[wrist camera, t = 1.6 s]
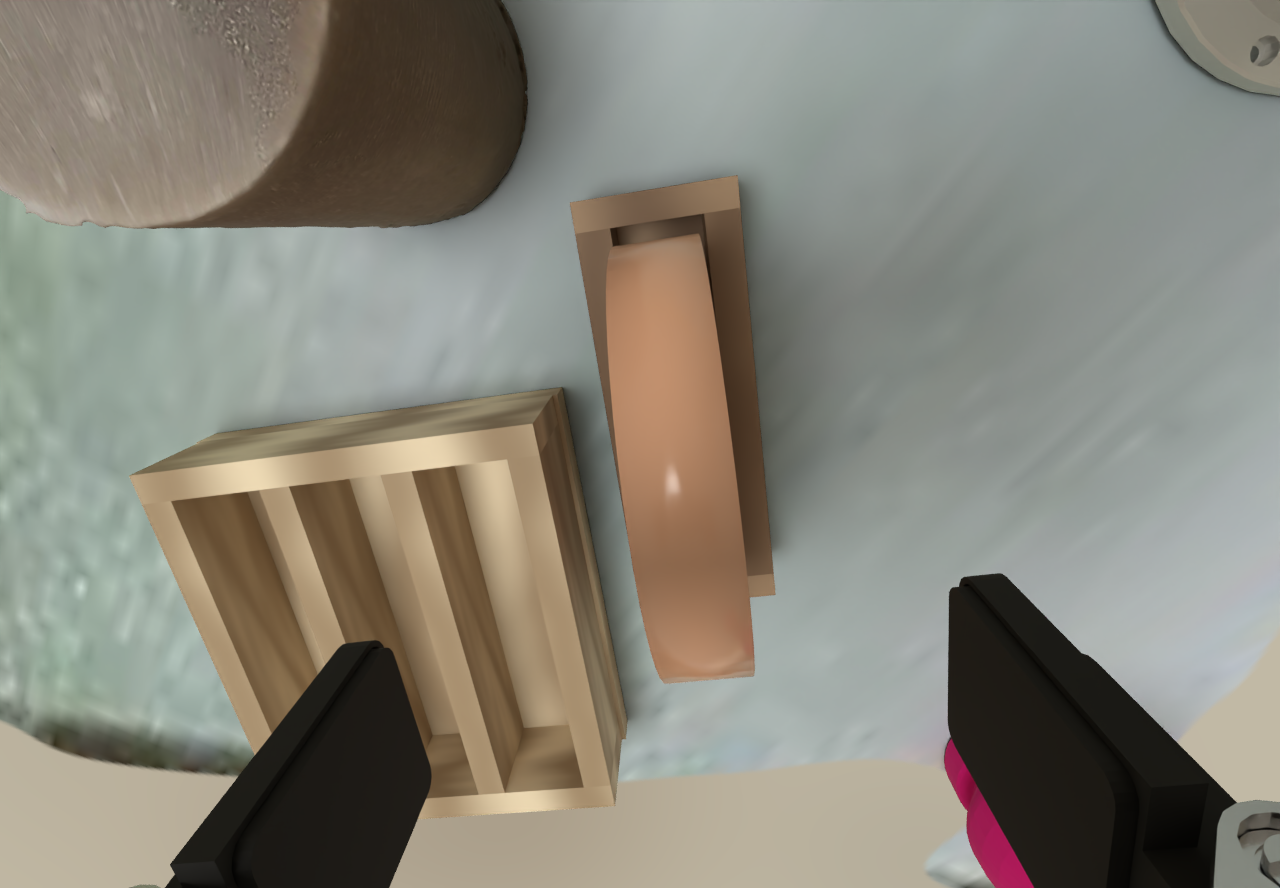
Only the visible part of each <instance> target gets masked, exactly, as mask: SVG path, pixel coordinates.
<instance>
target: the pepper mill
mask: <svg viewBox="0 0 1280 888" xmlns="http://www.w3.org/2000/svg"><path fill="white" fill-rule="evenodd" d="M944 763H945V769H946V772H947V775H948V778H949V780H950V782H951V783H952V786H953V788H954V790H955V791H956V794H957V796H958V798H959V800H960V802H961V803H962V804H963V806H964V807H965V809H966V810H967V811H968V812H967V835H968V839H969V842H970V846H971V848H972V850H973V853H974V855H975V856H976V858H977V860H978V862H979V863H980V865H981V867H982V869H983V870H984V872H985V874H986V875H987V877H988V878H989V880H990V881H991V882H992V884H993V885H994V886H995V887H996V888H1034V887H1033V885H1032V883H1031V881H1030V879H1029V878H1028V876H1027V874H1026V872H1025V871H1024V869H1023V867H1022V865H1021V863H1020V862H1019V860H1018V858H1017V856H1016V854H1015V853H1014V851H1013V849H1012V847H1011V846H1010V844H1009V842H1008V840H1007V838H1006V837H1005V835H1004V833H1003V831H1002V830H1001V828H1000V826H999V824H998V822H997V821H996V819H995V817H994V815H993V814H992V812H991V810H990V808H989V806H988V805H987V803H986V801H985V799H984V797H983V796H982V794H981V792H980V790H979V789H978V787H977V785H976V783H975V781H974V780H973V778H972V776H971V774H970V773H969V771H968V769H967V767H966V765H965V764H964V762H963V760H962V758H961V757H960V755H959V753H958V751H957V749H956V748H955V746H954V743H953V741H952V738H951V740H950V741H949V743H948V745H947V748H946V752H945V759H944Z"/></svg>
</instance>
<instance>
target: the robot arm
mask: <svg viewBox="0 0 1280 888" xmlns="http://www.w3.org/2000/svg"><path fill="white" fill-rule="evenodd" d="M1155 2H1156V4H1157V6H1158V8H1159V10H1160V12H1161V14H1162V17H1163V19H1164V21H1165V23H1166V25H1167V27H1168V29H1169V31H1170V33H1171V35H1172V36H1173V37H1174V38H1175V40H1176V41H1177V42H1178V43H1179V45H1180V46H1181V47H1182V48H1183V49H1184V51H1185V52H1186V53H1187V54H1188V56H1189V57H1190V58H1191V59H1192V60H1193V61H1194V62H1196V63H1197V64H1198V65H1200V66H1201V67H1202V68H1204V69H1205V70H1207V71H1208V72H1209V73H1211V74H1212V75H1213V76H1215V77H1216V78H1217V79H1219V80H1222V81H1224V82H1227V83H1229V84H1232V85H1234V86H1237V87H1239V88H1242V89H1244V90H1247V91H1250V92H1257V93H1264V94H1270V95H1277V96H1280V0H1155ZM948 726H949V731H950V735H951V738H952V741H953V743H954V746H955V748H956V749H957V751H958V753H959V755H960V757H961V758H962V760H963V762H964V764H965V765H966V767H967V769H968V771H969V773H970V774H971V776H972V778H973V780H974V781H975V783H976V785H977V787H978V789H979V790H980V792H981V794H982V796H983V797H984V799H985V801H986V803H987V805H988V806H989V808H990V810H991V812H992V814H993V815H994V817H995V819H996V821H997V822H998V824H999V826H1000V828H1001V830H1002V831H1003V833H1004V835H1005V837H1006V838H1007V840H1008V842H1009V844H1010V846H1011V847H1012V849H1013V851H1014V853H1015V854H1016V856H1017V858H1018V860H1019V862H1020V863H1021V865H1022V867H1023V869H1024V871H1025V872H1026V874H1027V876H1028V878H1029V879H1030V881H1031V883H1032V885H1033V887H1034V888H1280V802H1272V801H1262V800H1253V801H1247V802H1240V803H1237V802H1236V801H1235V800H1233V798H1232V797H1230V795H1229V794H1228V793H1227V792H1226V791H1225V790H1224V789H1223V788H1222V787H1221V786H1220V785H1219V784H1218V783H1217V782H1216V781H1215V780H1214V779H1213V778H1212V777H1211V776H1210V775H1209V774H1208V773H1207V772H1206V771H1205V770H1204V769H1203V768H1202V767H1201V766H1200V765H1199V764H1198V763H1197V762H1196V761H1195V760H1194V759H1193V758H1192V757H1191V756H1190V755H1189V754H1188V753H1187V752H1186V751H1185V750H1184V749H1183V748H1182V747H1181V746H1180V745H1179V744H1178V743H1177V742H1176V741H1175V740H1174V739H1173V738H1172V737H1171V736H1170V735H1169V734H1168V733H1167V732H1166V731H1165V730H1164V729H1163V728H1162V727H1161V726H1160V725H1159V724H1158V723H1157V722H1156V721H1155V720H1154V719H1153V718H1152V717H1151V716H1150V715H1149V714H1148V713H1147V712H1146V711H1145V710H1144V709H1143V708H1142V707H1141V706H1140V705H1139V704H1138V703H1137V702H1136V701H1135V700H1134V699H1133V698H1132V697H1131V696H1130V695H1129V694H1128V693H1127V692H1126V691H1125V690H1124V689H1123V688H1122V687H1121V686H1120V685H1119V684H1118V683H1117V682H1116V681H1115V680H1114V679H1113V678H1112V677H1111V676H1110V675H1109V674H1108V673H1107V672H1106V671H1105V670H1104V669H1103V668H1102V667H1101V666H1100V665H1099V664H1098V663H1097V662H1096V661H1094V660H1093V659H1092V658H1091V657H1089V656H1088V655H1085V654H1082V653H1081V652H1080V651H1079V650H1078V649H1077V648H1076V647H1075V646H1074V645H1073V644H1072V643H1071V642H1070V641H1069V640H1068V639H1067V638H1066V637H1065V636H1064V635H1063V634H1062V633H1061V632H1060V631H1059V630H1058V629H1057V628H1056V627H1055V626H1054V625H1053V624H1052V623H1051V622H1050V621H1049V620H1048V619H1047V618H1046V617H1045V616H1044V615H1043V614H1042V613H1041V612H1040V611H1039V610H1038V609H1037V608H1036V607H1035V606H1034V604H1033V603H1032V602H1031V601H1030V600H1029V599H1028V598H1027V597H1026V596H1025V595H1024V594H1023V593H1022V592H1021V591H1020V590H1019V589H1018V588H1017V587H1016V586H1015V585H1014V584H1013V583H1012V582H1011V581H1010V580H1009V579H1008V578H1007V577H1006V576H1004V575H1003V574H999V573H997V574H988V575H979V576H969V577H963V578H962V579H961V581H960V584H959V587H954V588H951V590H950V592H949V652H948ZM431 779H432V773H431V766H430V763H429V760H428V757H427V754H426V751H425V748H424V745H423V742H422V739H421V735H420V732H419V729H418V726H417V723H416V720H415V717H414V714H413V711H412V708H411V705H410V702H409V699H408V696H407V693H406V690H405V686H404V683H403V680H402V677H401V674H400V671H399V668H398V665H397V662H396V659H395V656H394V653H393V651H392V650H391V649H390V648H384V646H383V644H382V643H381V642H380V641H377V640H371V641H362V642H353V643H345V644H342V645H341V646H340V647H339V648H338V649H337V650H336V652H335V653H334V654H333V655H332V657H331V658H330V659H329V661H328V662H327V663H326V665H325V666H324V667H323V668H322V670H321V671H320V672H319V674H318V675H317V676H316V677H315V679H314V680H313V681H312V683H311V684H310V685H309V686H308V688H307V689H306V690H305V692H304V693H303V694H302V695H301V697H300V698H299V699H298V701H297V702H296V703H295V704H294V706H293V707H292V708H291V710H290V711H289V712H288V713H287V715H286V716H285V717H284V719H283V720H282V721H281V722H280V724H279V725H278V726H277V728H276V729H275V730H274V731H273V733H272V734H271V735H270V737H269V738H268V739H267V740H266V742H265V743H264V744H263V746H262V747H261V748H260V749H259V751H258V752H257V753H256V755H255V756H254V757H253V758H252V760H251V761H250V762H249V764H248V765H247V766H246V768H245V769H244V770H243V771H242V773H241V774H240V775H239V777H238V778H237V779H236V781H235V782H234V783H233V784H232V786H231V787H230V788H229V789H228V791H227V792H226V794H225V795H224V796H223V797H222V798H221V800H220V801H219V802H218V804H217V805H216V806H215V808H214V809H213V810H212V811H211V813H210V814H209V815H208V817H207V818H206V819H205V820H204V822H203V823H202V824H201V825H200V827H199V828H198V830H197V831H196V832H195V833H194V834H193V836H192V837H191V838H190V840H189V841H188V842H187V844H186V845H185V846H184V847H183V849H182V850H181V851H180V852H179V854H178V855H177V856H176V858H175V859H174V861H172V863H171V864H170V866H171V867H172V869H173V871H174V873H175V875H174V876H173V878H172V879H171V880H170V882H169V883H168V884H167V886H166V887H165V888H389V886H390V884H391V881H392V879H393V877H394V874H395V872H396V870H397V867H398V865H399V863H400V860H401V858H402V855H403V853H404V851H405V848H406V846H407V843H408V841H409V839H410V836H411V834H412V831H413V829H414V827H415V824H416V822H417V819H418V817H419V815H420V812H421V810H422V807H423V805H424V803H425V800H426V798H427V795H428V793H429V790H430V786H431ZM131 888H160V887H158V886H156V885H138V886H134V887H131Z"/></svg>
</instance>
